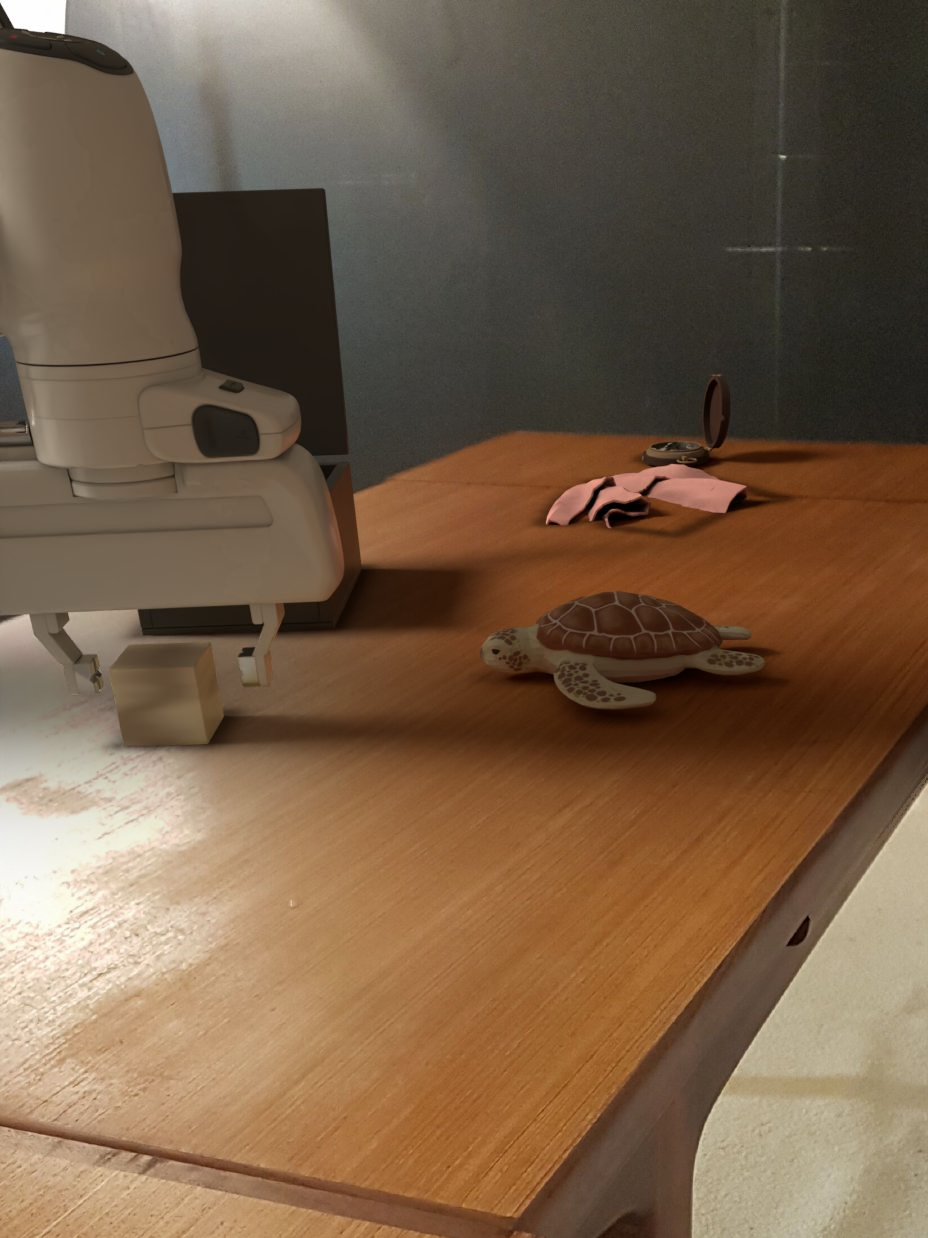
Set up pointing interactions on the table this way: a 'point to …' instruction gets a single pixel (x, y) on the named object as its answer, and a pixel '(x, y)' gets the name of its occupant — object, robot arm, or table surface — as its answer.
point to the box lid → (267, 299)
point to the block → (166, 694)
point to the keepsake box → (295, 613)
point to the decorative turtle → (617, 648)
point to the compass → (713, 430)
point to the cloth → (647, 493)
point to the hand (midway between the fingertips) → (173, 687)
